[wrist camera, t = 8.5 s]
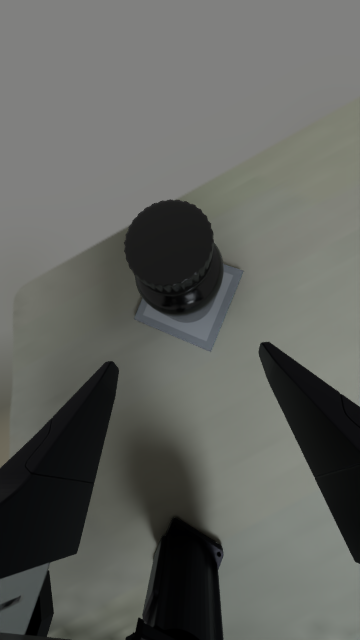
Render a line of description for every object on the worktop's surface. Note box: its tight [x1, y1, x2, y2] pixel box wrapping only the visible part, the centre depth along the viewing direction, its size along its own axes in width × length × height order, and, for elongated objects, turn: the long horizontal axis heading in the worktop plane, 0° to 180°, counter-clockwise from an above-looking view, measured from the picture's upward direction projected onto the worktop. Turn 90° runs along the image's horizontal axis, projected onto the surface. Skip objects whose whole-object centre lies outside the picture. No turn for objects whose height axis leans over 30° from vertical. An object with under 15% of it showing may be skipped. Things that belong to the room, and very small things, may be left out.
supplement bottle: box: [124, 200, 224, 323], centre depth 14 cm, size 7×7×12 cm
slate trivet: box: [134, 264, 243, 352], centre depth 20 cm, size 11×11×1 cm
